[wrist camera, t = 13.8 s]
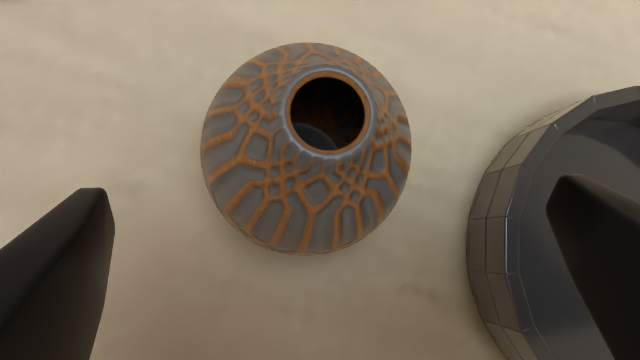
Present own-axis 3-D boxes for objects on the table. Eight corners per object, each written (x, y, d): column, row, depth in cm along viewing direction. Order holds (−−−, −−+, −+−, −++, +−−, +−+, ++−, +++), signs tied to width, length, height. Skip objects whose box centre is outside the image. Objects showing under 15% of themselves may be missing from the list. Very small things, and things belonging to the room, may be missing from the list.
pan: (776, 357, 22) (864, 377, 19) (517, 452, 20) (568, 493, 16) (683, 83, 23) (752, 58, 20) (430, 144, 21) (461, 126, 18)
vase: (325, 284, 19) (382, 319, 11) (177, 196, 19) (113, 158, 10) (405, 143, 21) (515, 71, 12) (268, 58, 20) (278, -80, 12)
